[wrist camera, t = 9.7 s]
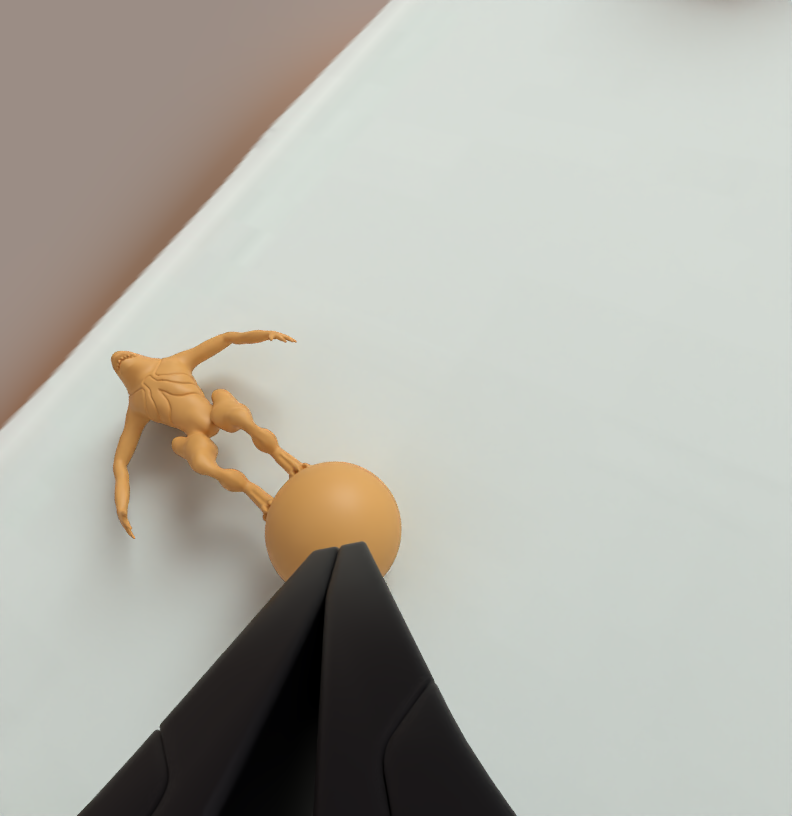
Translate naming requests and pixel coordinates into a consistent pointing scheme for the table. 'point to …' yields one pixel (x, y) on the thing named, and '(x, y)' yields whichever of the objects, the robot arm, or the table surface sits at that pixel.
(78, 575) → the table surface
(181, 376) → the figurine
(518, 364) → the table surface
